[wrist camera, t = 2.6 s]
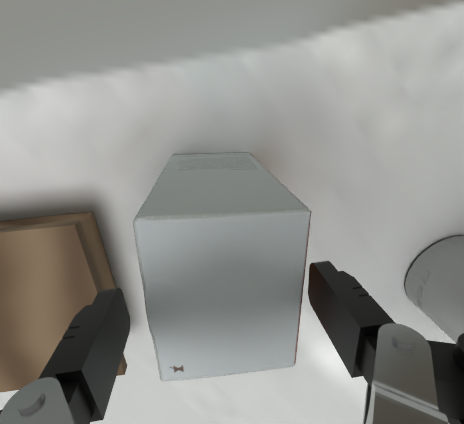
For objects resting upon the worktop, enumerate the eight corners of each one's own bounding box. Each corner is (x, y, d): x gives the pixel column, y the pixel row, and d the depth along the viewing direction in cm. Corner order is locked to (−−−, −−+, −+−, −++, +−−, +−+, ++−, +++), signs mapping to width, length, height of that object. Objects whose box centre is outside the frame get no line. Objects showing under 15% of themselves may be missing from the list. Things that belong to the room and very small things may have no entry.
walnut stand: (102, 199, 21) (74, 225, 17) (138, 327, 26) (124, 374, 22) (-84, 217, 20) (-168, 250, 16) (-7, 347, 26) (-53, 400, 21)
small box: (249, 238, 24) (297, 371, 12) (180, 243, 23) (157, 387, 11) (250, 149, 21) (315, 208, 9) (170, 152, 20) (125, 219, 8)
